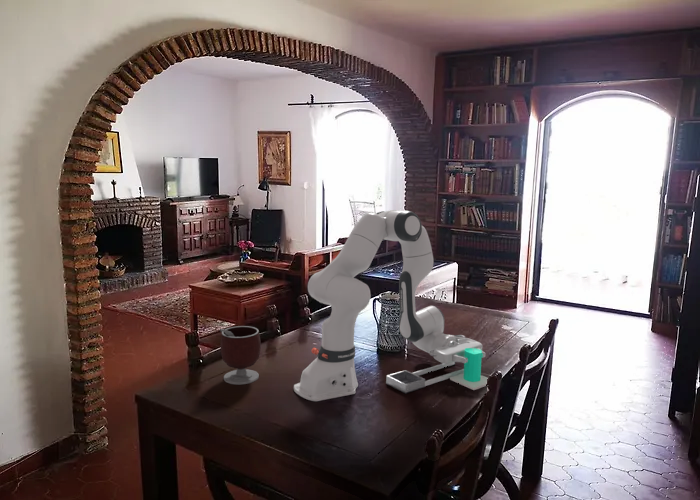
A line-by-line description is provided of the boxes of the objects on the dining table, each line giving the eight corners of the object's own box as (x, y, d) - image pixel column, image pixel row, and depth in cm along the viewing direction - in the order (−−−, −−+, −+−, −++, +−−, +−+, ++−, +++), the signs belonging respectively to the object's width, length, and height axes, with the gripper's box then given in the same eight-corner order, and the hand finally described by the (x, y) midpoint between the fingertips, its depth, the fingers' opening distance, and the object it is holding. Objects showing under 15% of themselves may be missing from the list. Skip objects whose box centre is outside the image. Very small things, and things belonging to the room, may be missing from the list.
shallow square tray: (405, 393, 183) (405, 385, 182) (386, 383, 191) (386, 375, 190) (424, 387, 188) (425, 379, 188) (405, 377, 196) (405, 370, 195)
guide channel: (424, 386, 189) (424, 382, 189) (407, 378, 196) (407, 374, 195) (470, 371, 203) (471, 367, 203) (453, 363, 210) (453, 360, 210)
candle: (460, 379, 193) (462, 346, 191) (467, 373, 198) (469, 342, 196) (476, 383, 190) (478, 350, 188) (483, 377, 195) (484, 345, 193)
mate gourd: (244, 367, 204) (242, 315, 201) (269, 376, 196) (268, 323, 192) (209, 379, 193) (207, 325, 189) (234, 390, 184) (233, 333, 181)
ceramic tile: (473, 390, 186) (474, 388, 186) (449, 379, 195) (450, 377, 195) (494, 382, 193) (494, 380, 192) (470, 372, 201) (470, 370, 201)
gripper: (426, 344, 196) (455, 355, 185) (465, 334, 208) (494, 343, 197) (426, 361, 197) (454, 373, 186) (464, 349, 209) (493, 360, 198)
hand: (475, 358), depth 192 cm, fingers open, 8 cm apart
